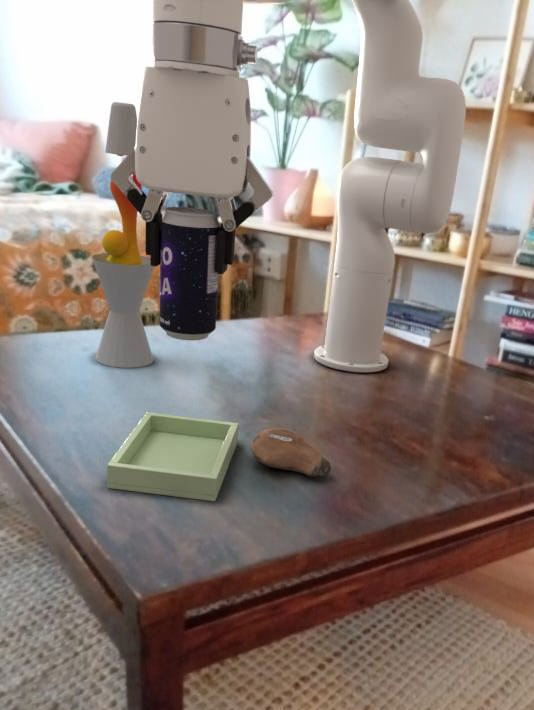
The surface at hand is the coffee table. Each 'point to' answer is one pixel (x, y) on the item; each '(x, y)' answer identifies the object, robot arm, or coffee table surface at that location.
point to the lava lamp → (123, 262)
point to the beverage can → (188, 273)
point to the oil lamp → (289, 452)
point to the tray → (174, 457)
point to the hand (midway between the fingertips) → (189, 266)
